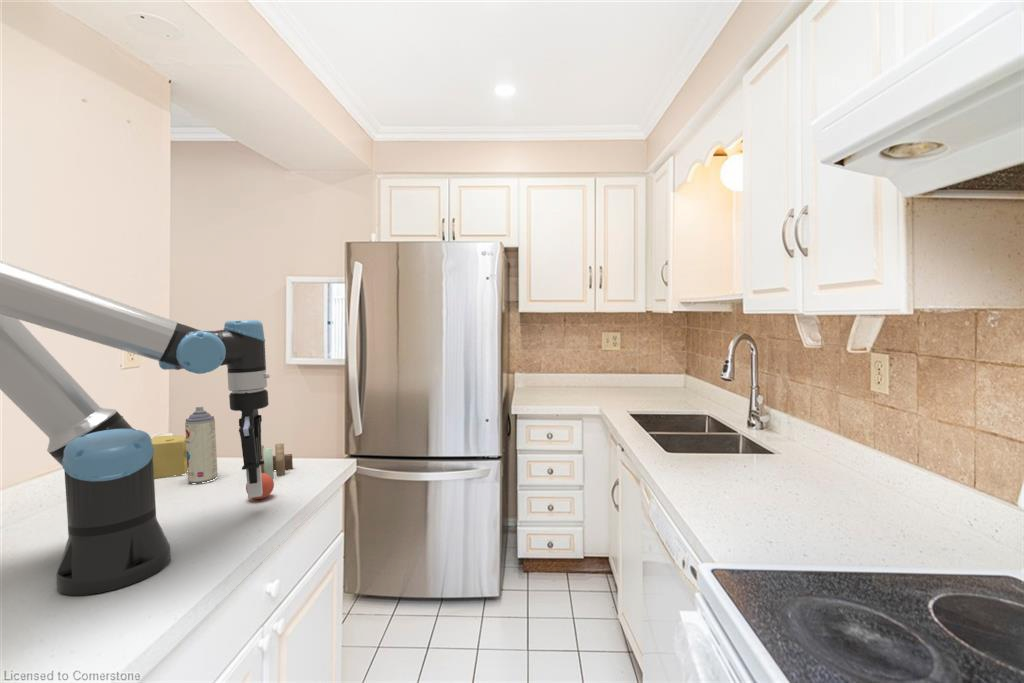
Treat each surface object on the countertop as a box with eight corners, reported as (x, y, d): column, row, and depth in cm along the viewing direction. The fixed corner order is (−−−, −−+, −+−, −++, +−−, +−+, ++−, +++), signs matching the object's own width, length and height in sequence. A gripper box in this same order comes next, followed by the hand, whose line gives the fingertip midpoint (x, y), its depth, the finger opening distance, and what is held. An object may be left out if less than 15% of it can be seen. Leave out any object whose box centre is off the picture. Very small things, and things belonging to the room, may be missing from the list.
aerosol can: (191, 478, 136) (187, 406, 135) (219, 474, 138) (216, 403, 137) (185, 486, 129) (181, 410, 128) (215, 482, 132) (211, 407, 131)
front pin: (273, 480, 132) (271, 449, 132) (264, 481, 131) (262, 449, 131) (274, 478, 134) (272, 447, 134) (265, 479, 133) (263, 448, 133)
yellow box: (196, 465, 148) (194, 432, 148) (185, 476, 138) (183, 440, 138) (155, 470, 145) (153, 436, 145) (141, 481, 135) (138, 444, 134)
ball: (272, 500, 117) (271, 475, 116) (244, 504, 115) (243, 479, 114) (275, 492, 122) (274, 468, 122) (248, 496, 120) (247, 471, 120)
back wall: (292, 469, 142) (291, 455, 142) (253, 473, 139) (252, 459, 138) (292, 467, 144) (292, 453, 144) (254, 471, 141) (253, 457, 140)
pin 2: (284, 475, 136) (283, 445, 136) (275, 476, 135) (274, 445, 135) (285, 473, 138) (284, 443, 138) (276, 474, 138) (275, 444, 137)
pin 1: (264, 477, 135) (263, 446, 134) (255, 478, 134) (254, 447, 133) (265, 475, 137) (264, 445, 136) (256, 476, 136) (255, 445, 136)
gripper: (263, 393, 104) (270, 503, 105) (271, 385, 116) (277, 484, 117) (222, 396, 101) (230, 509, 102) (235, 388, 113) (241, 489, 115)
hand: (255, 495), depth 110 cm, fingers closed
